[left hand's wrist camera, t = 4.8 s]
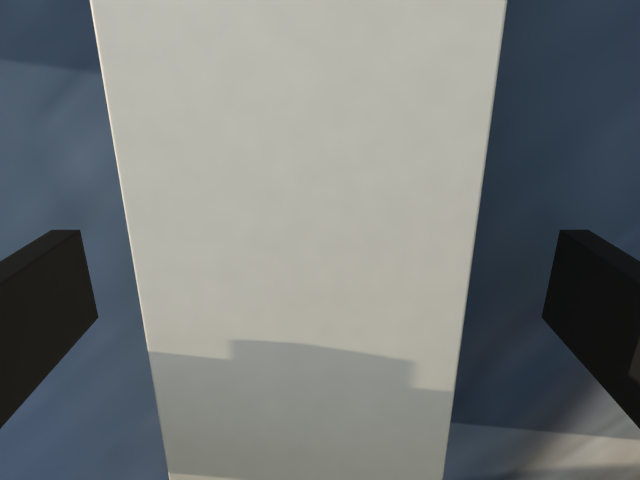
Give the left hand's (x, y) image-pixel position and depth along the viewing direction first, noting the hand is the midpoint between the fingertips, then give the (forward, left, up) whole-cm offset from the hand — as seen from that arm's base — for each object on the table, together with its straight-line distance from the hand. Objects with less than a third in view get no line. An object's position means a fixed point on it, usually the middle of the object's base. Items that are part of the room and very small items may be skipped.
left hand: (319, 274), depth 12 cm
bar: (+14, +16, -4) cm, 21 cm away
